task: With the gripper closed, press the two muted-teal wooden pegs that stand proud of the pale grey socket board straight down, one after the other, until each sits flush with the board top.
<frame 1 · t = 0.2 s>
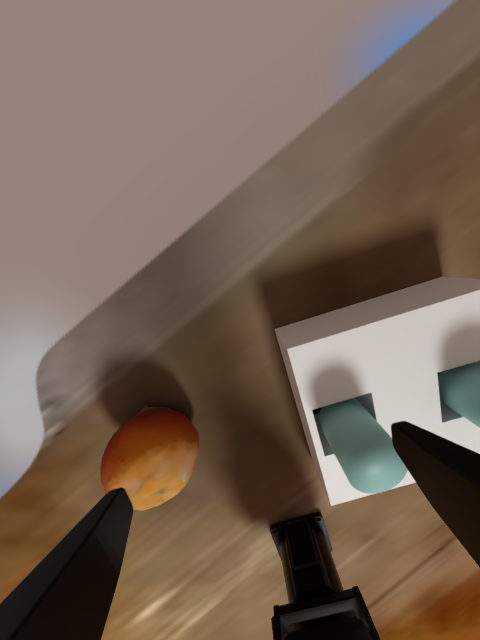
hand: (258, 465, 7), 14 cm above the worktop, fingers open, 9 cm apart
socket board: (370, 377, 23), on the worktop
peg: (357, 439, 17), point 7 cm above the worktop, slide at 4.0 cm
fruit: (164, 428, 24), on the worktop
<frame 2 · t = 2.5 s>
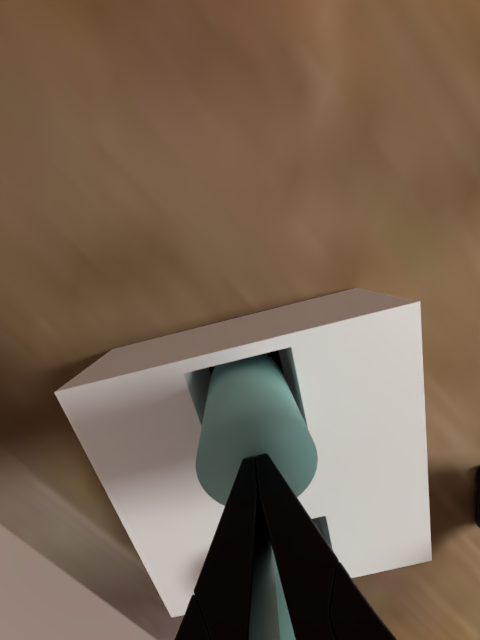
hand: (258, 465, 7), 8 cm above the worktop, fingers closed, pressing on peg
socket board: (260, 422, 17), on the worktop
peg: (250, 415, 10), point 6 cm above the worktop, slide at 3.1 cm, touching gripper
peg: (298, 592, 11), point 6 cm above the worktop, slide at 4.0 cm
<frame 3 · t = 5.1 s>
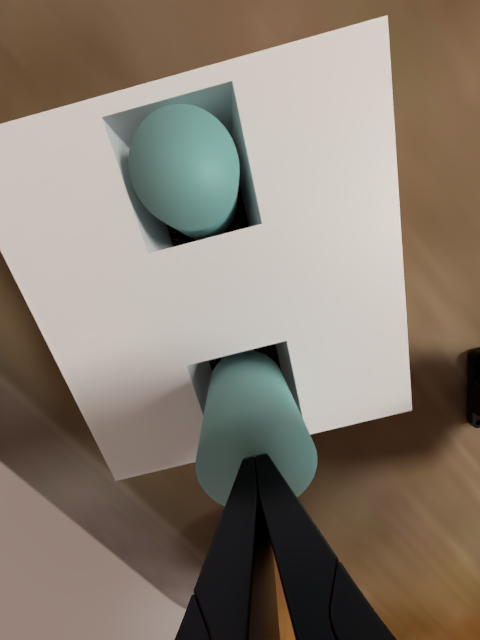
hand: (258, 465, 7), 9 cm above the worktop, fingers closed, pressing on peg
socket board: (224, 287, 15), on the worktop
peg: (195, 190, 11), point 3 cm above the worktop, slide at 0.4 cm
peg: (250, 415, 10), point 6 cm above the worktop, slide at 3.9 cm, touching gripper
fruit: (277, 526, 21), on the worktop
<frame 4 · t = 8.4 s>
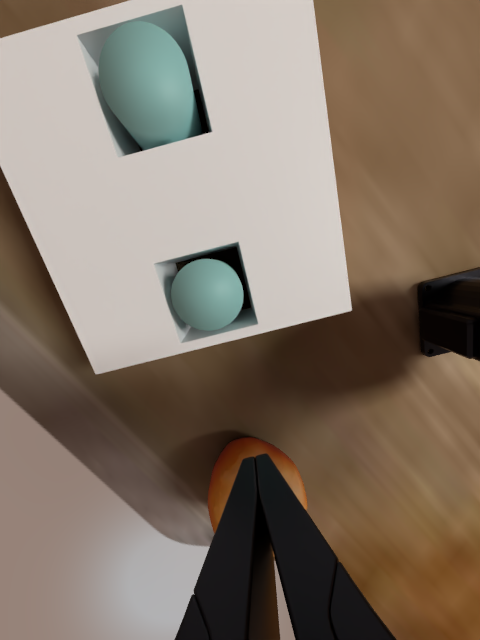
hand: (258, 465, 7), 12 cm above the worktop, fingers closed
socket board: (195, 219, 17), on the worktop
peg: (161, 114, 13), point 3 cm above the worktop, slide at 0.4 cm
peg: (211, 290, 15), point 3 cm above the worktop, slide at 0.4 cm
fruit: (251, 456, 22), on the worktop
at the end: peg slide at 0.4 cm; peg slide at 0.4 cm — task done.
